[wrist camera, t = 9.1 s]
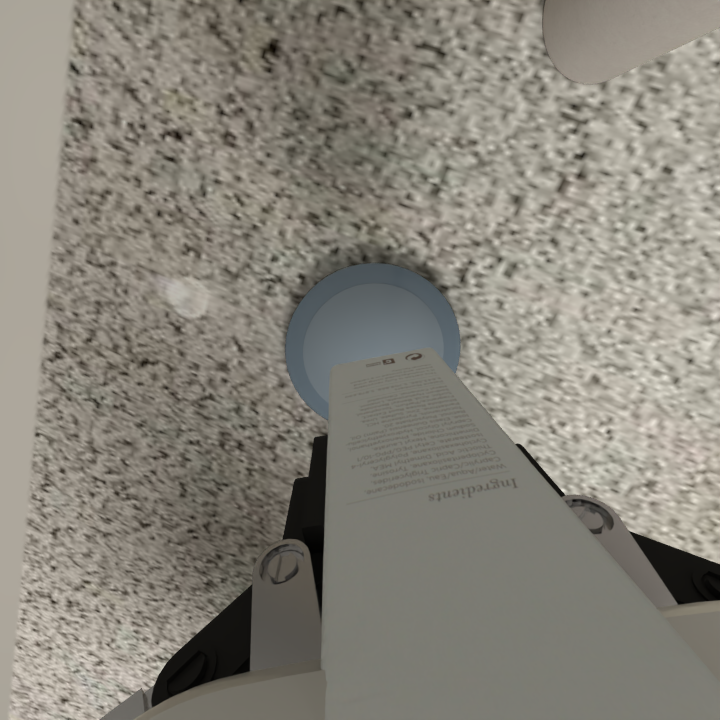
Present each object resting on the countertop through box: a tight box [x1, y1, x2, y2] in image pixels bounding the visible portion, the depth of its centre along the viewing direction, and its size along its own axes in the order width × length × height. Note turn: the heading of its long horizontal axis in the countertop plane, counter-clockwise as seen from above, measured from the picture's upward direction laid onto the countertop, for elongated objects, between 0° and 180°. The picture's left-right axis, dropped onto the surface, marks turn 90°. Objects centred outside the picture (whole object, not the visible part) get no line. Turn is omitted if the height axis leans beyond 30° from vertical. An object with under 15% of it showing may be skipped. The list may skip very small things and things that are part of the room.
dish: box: [285, 263, 460, 420], centre depth 24 cm, size 12×12×1 cm
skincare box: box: [320, 348, 720, 720], centre depth 9 cm, size 6×4×12 cm
